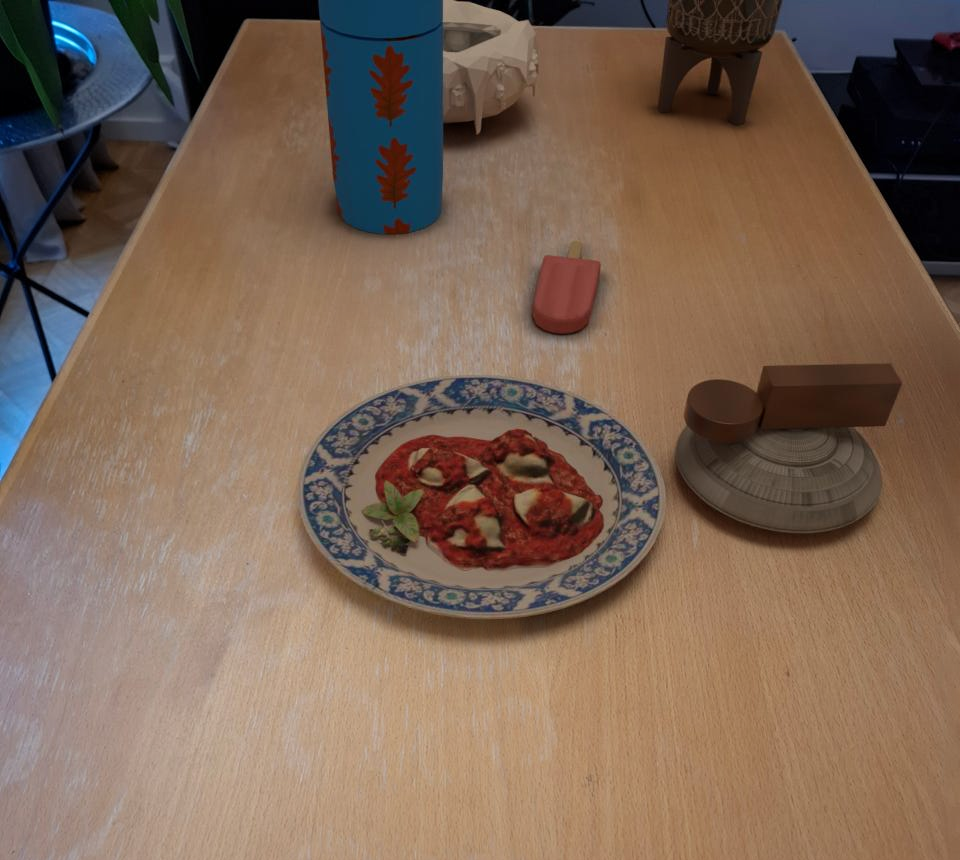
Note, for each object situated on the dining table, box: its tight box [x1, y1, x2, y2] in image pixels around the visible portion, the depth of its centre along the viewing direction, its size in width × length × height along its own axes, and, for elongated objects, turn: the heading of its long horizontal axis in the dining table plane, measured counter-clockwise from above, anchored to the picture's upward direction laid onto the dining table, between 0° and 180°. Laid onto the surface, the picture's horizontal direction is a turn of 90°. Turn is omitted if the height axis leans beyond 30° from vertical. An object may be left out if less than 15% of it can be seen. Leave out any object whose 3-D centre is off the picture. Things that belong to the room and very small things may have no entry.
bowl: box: [443, 0, 540, 135], centre depth 112 cm, size 21×20×10 cm
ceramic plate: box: [296, 374, 667, 620], centre depth 70 cm, size 26×26×3 cm
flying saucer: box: [674, 425, 883, 534], centre depth 72 cm, size 15×15×6 cm
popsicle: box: [531, 240, 602, 335], centre depth 90 cm, size 5×2×15 cm
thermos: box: [317, 0, 444, 235], centre depth 91 cm, size 11×11×25 cm
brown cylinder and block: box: [683, 362, 903, 443], centre depth 69 cm, size 14×5×4 cm, turn 94°
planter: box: [657, 0, 784, 126], centre depth 112 cm, size 13×13×18 cm
